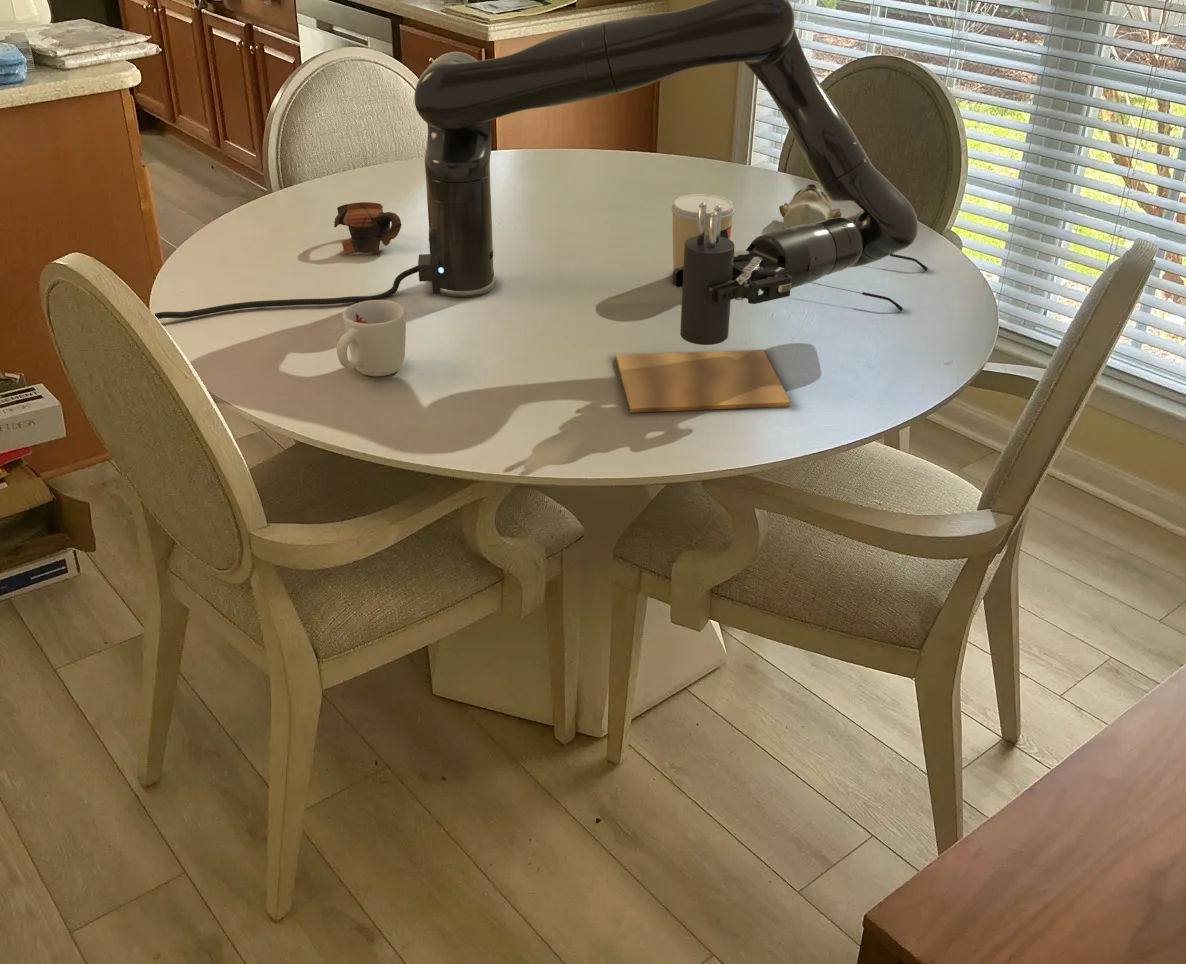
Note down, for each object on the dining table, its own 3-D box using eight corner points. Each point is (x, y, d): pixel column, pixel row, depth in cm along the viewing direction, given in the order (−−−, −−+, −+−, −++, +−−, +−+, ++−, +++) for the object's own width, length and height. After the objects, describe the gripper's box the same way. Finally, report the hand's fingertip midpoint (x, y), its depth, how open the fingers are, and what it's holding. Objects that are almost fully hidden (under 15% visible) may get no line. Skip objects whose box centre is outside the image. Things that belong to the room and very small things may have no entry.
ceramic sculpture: (775, 191, 186) (785, 170, 199) (769, 243, 191) (779, 219, 203) (841, 198, 184) (847, 176, 197) (834, 251, 188) (840, 226, 201)
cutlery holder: (684, 346, 143) (691, 213, 134) (676, 325, 148) (682, 196, 139) (732, 344, 143) (742, 211, 134) (722, 323, 148) (731, 194, 139)
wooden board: (630, 412, 142) (630, 408, 141) (615, 358, 154) (616, 354, 154) (790, 406, 143) (790, 402, 143) (762, 353, 156) (763, 349, 156)
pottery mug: (325, 257, 185) (320, 206, 185) (356, 264, 194) (351, 215, 194) (391, 246, 181) (386, 193, 181) (420, 253, 190) (415, 203, 190)
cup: (367, 396, 144) (361, 338, 140) (320, 380, 148) (313, 323, 144) (422, 364, 152) (418, 308, 148) (376, 349, 156) (371, 294, 151)
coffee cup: (725, 293, 173) (731, 216, 167) (663, 288, 175) (667, 210, 169) (732, 270, 181) (737, 195, 175) (672, 265, 183) (676, 191, 176)
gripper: (755, 213, 152) (655, 240, 143) (836, 246, 142) (733, 277, 134) (751, 267, 156) (653, 296, 147) (829, 303, 146) (729, 336, 138)
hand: (692, 287), depth 140 cm, fingers closed on cutlery holder, 6 cm apart
